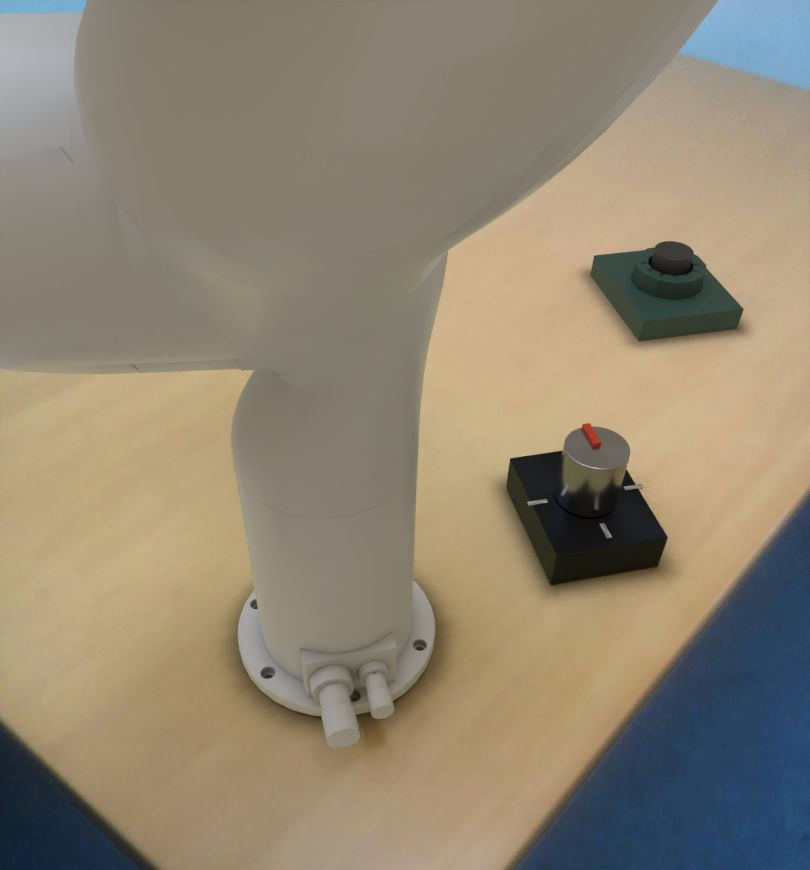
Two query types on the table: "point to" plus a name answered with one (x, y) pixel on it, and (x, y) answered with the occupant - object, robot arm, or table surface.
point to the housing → (664, 296)
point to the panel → (582, 525)
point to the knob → (591, 471)
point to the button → (672, 258)
